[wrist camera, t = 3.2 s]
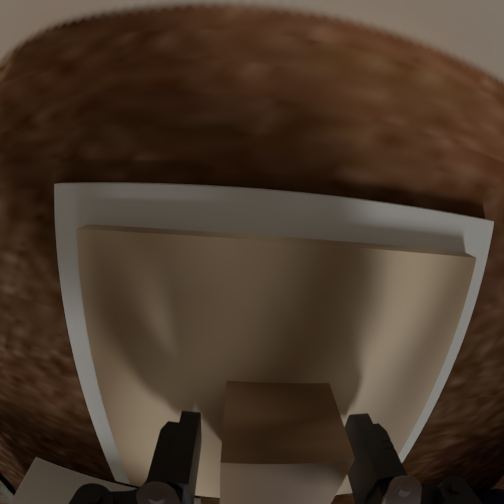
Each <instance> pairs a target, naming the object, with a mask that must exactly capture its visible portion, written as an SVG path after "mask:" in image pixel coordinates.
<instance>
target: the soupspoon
mask: <svg viewBox="0 0 504 504" xmlns="http://www.w3.org/2000/svg"><path fill="white" fill-rule="evenodd" d="M13 497H14V496H13V494H12V493H11V492H10V491H9V490H8V489H7V487H6V486H5V485H4V484H3V483H2V481H1V480H0V500H2V501H4V502H6V503H9V504H10V503H11V501H12V499H13Z"/></svg>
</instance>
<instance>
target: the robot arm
mask: <svg viewBox="0 0 504 504" xmlns="http://www.w3.org/2000/svg"><path fill="white" fill-rule="evenodd" d="M345 430H346V433H347V436H348V439H349V442H350V445H351V448H352V451H353V454H354V457H355V460H354V462H353V464H352V466H351V468H350V470H349V472H348V474H347V475H348V479H349V482H350V486H351V489H352V492H353V496H354V499H355V503H356V504H483V503H482V502H481V501H480V499H479V498H478V497H477V495H476V494H475V493H474V492H473V490H472V489H471V488H470V486H469V485H468V484H467V482H466V481H465V480H464V479H462V478H460V477H457V476H450V477H447V478H445V479H444V480H443V481H442V482H441V484H421V483H419V481H418V480H417V479H415V478H414V477H411V476H408V475H407V474H406V472H405V470H404V467H403V465H402V463H401V461H400V459H399V456H398V454H397V452H396V450H395V449H394V445H393V443H392V442H391V439H390V437H389V435H388V433H387V431H386V430H385V429H384V428H383V427H382V426H381V425H380V424H379V423H377V424H373V422H372V420H371V418H370V416H369V414H368V413H362V414H351V415H349V417H348V419H347V422H346V424H345ZM201 442H202V431H201V412H191V411H182V412H181V416H180V421H179V422H171V421H168V422H167V423H166V424H165V425H164V426H163V427H162V428H161V430H160V433H159V437H158V441H157V444H156V447H155V448H156V449H155V451H154V455H153V458H152V462H151V466H150V469H149V473H148V477H147V480H146V481H145V483H144V484H143V485H142V486H140V487H139V488H137V489H134V490H131V491H109V490H108V489H107V488H106V487H105V486H103V485H100V484H96V483H88V484H85V485H82V486H81V487H80V488H78V490H77V491H76V493H75V494H74V496H73V497H72V499H71V500H70V502H69V504H194V498H195V490H196V483H197V475H198V467H199V460H200V452H201Z"/></svg>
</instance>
